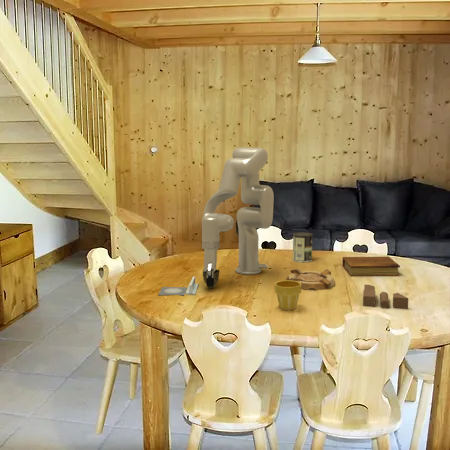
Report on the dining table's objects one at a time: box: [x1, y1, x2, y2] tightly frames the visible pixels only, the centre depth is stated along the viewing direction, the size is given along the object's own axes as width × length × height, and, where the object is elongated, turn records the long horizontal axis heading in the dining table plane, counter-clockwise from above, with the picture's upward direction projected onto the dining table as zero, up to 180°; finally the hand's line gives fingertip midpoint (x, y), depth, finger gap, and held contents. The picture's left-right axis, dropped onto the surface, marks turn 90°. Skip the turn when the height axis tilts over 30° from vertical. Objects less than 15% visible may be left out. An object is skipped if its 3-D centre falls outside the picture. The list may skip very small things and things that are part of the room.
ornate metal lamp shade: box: [202, 268, 220, 290], centre depth 242 cm, size 8×7×8 cm
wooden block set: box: [362, 284, 409, 310], centre depth 223 cm, size 17×6×18 cm
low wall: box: [185, 276, 199, 296], centre depth 240 cm, size 4×14×4 cm, turn 177°
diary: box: [341, 256, 401, 277], centre depth 269 cm, size 23×19×6 cm
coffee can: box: [292, 231, 314, 263], centre depth 290 cm, size 10×10×14 cm
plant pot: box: [274, 280, 302, 311], centre depth 216 cm, size 10×10×10 cm
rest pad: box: [157, 286, 188, 297], centre depth 238 cm, size 11×11×1 cm
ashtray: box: [286, 268, 336, 291], centre depth 250 cm, size 24×24×5 cm
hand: (211, 283), depth 242 cm, fingers open, 8 cm apart
